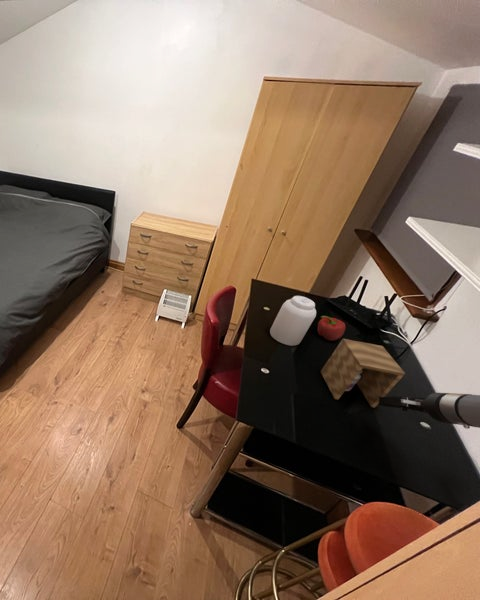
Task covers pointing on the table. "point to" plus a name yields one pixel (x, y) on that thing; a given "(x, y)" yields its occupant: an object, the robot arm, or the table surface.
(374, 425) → the table surface
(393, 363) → the cubby
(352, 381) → the pill bottle
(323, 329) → the vegetable
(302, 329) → the white jar
